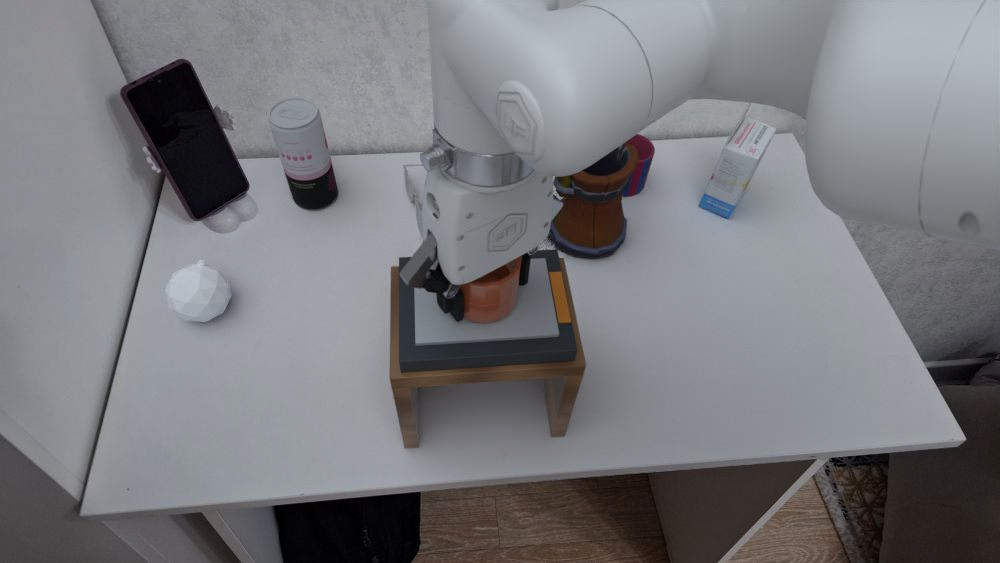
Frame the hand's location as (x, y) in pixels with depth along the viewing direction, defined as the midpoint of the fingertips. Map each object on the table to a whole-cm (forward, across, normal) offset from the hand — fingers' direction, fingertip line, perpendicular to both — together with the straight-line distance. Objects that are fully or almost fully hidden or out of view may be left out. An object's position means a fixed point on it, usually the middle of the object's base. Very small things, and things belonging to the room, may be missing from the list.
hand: (484, 291), depth 57 cm
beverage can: (+20, -2, +40) cm, 45 cm away
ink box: (+20, +49, +6) cm, 53 cm away
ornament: (+20, -22, +29) cm, 41 cm away
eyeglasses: (+20, +12, +28) cm, 36 cm away
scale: (+4, 0, 0) cm, 4 cm away
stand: (+20, 0, 0) cm, 20 cm away
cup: (+20, +37, +18) cm, 46 cm away
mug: (+20, +24, +14) cm, 34 cm away
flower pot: (+1, 0, 0) cm, 1 cm away
